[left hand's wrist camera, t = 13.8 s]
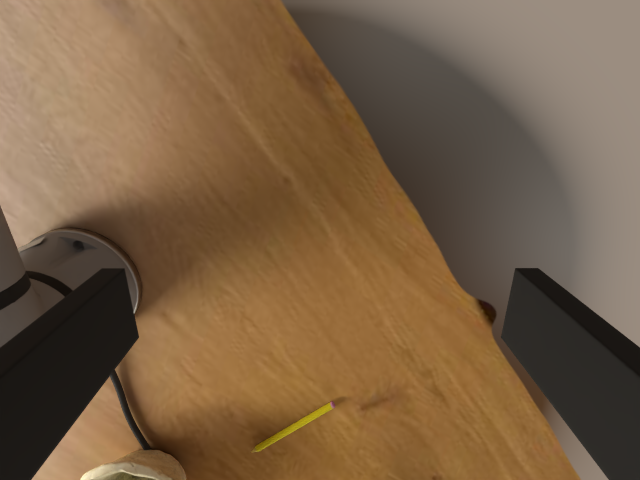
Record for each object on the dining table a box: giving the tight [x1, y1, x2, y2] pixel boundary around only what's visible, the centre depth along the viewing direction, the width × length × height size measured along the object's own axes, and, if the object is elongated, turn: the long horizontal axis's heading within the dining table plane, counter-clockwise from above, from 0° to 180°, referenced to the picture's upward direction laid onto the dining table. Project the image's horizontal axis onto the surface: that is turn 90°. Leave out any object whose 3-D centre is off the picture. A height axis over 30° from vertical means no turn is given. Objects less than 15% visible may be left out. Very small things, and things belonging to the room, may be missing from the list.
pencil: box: [250, 401, 335, 453], centre depth 58 cm, size 16×1×1 cm, turn 127°
